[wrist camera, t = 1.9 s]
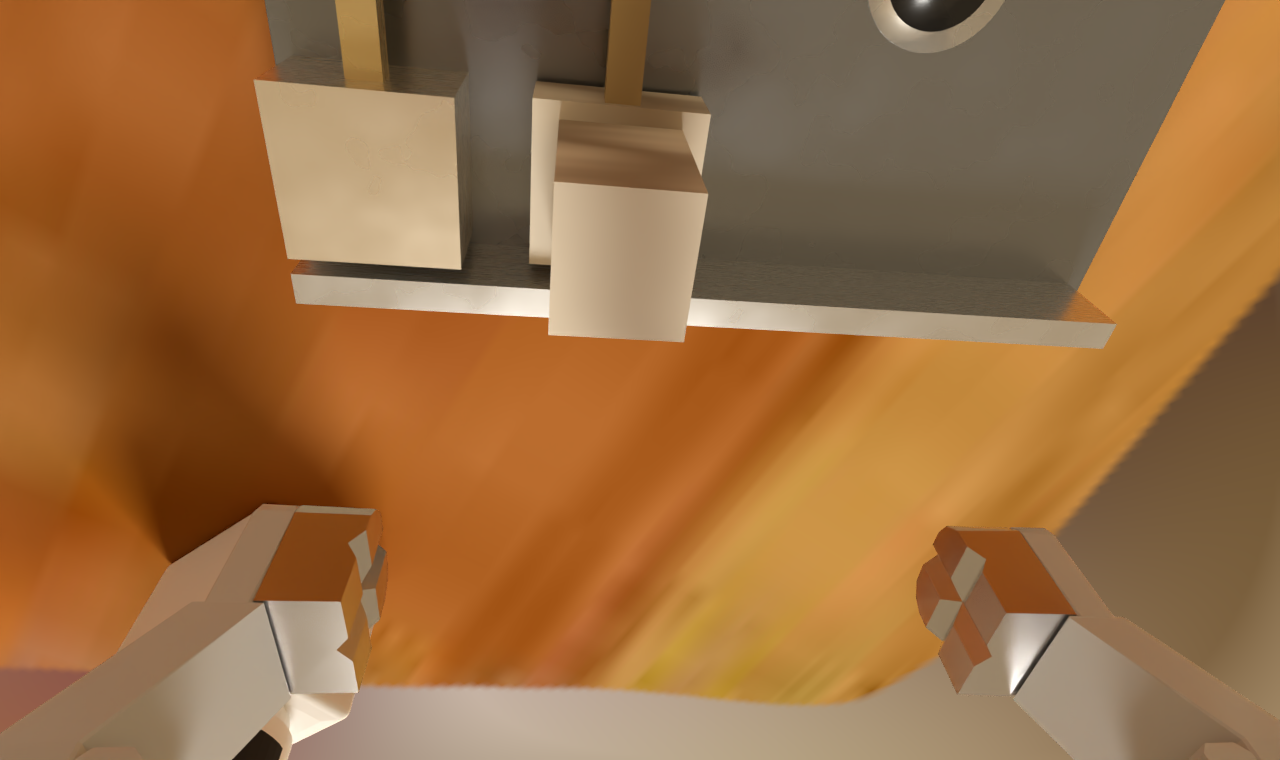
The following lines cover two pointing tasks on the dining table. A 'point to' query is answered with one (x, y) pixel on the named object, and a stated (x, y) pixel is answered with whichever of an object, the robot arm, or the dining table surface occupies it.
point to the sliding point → (618, 195)
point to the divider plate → (737, 152)
